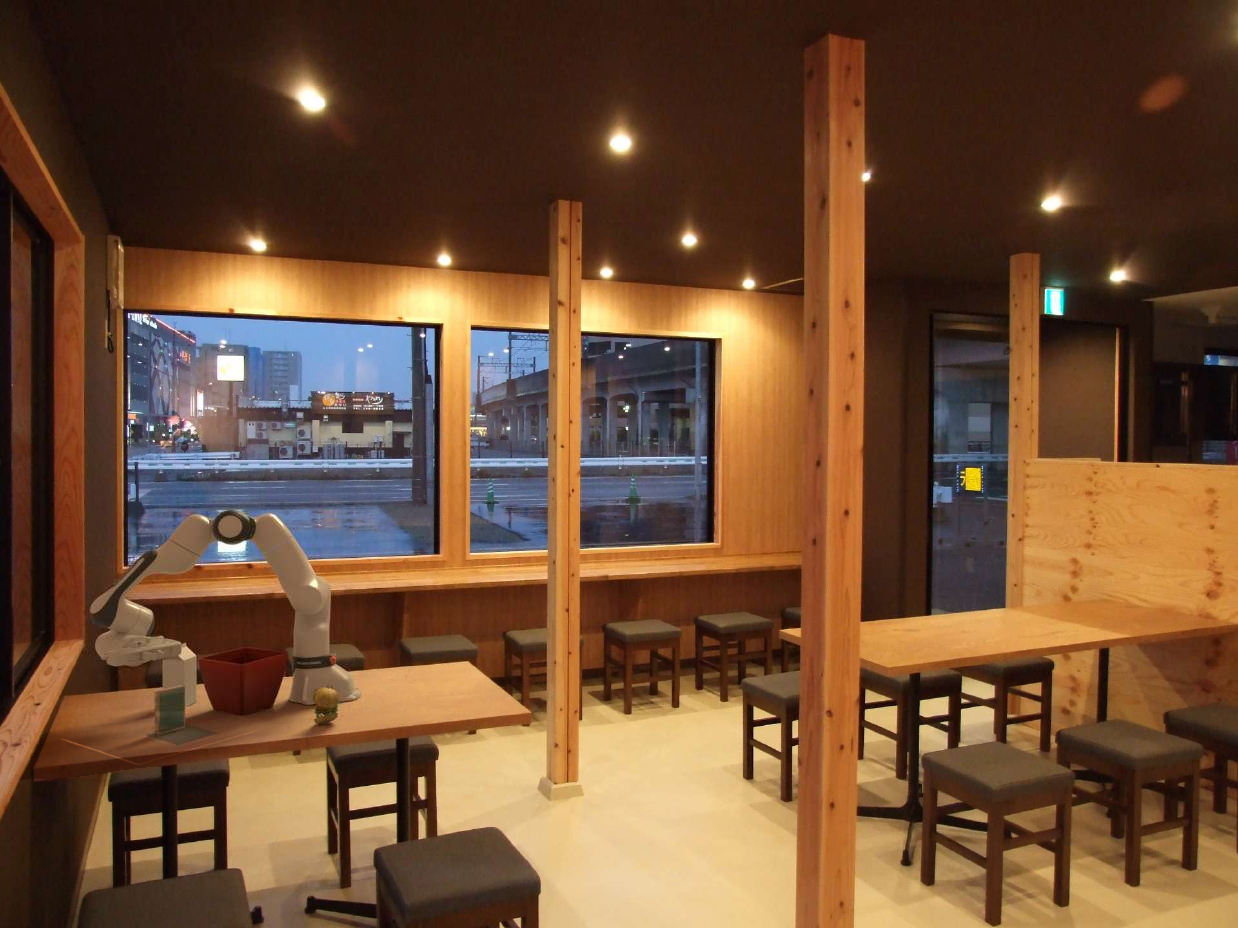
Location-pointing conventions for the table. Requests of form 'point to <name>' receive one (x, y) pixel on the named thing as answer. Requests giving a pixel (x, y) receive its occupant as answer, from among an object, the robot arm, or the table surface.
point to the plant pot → (243, 679)
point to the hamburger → (326, 705)
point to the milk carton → (181, 673)
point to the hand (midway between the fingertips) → (159, 656)
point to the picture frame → (169, 709)
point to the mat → (183, 734)
